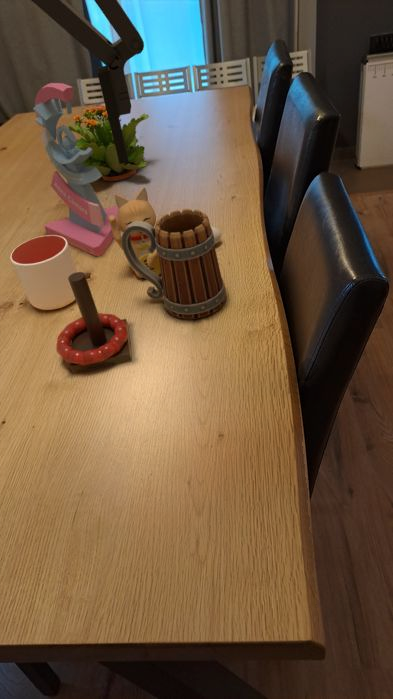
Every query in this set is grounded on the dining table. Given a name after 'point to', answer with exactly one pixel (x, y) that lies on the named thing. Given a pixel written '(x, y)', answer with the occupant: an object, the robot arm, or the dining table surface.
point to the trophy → (72, 176)
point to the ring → (95, 354)
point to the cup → (45, 271)
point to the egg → (216, 234)
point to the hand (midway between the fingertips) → (42, 174)
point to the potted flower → (108, 144)
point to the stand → (93, 327)
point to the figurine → (139, 241)
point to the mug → (181, 263)
